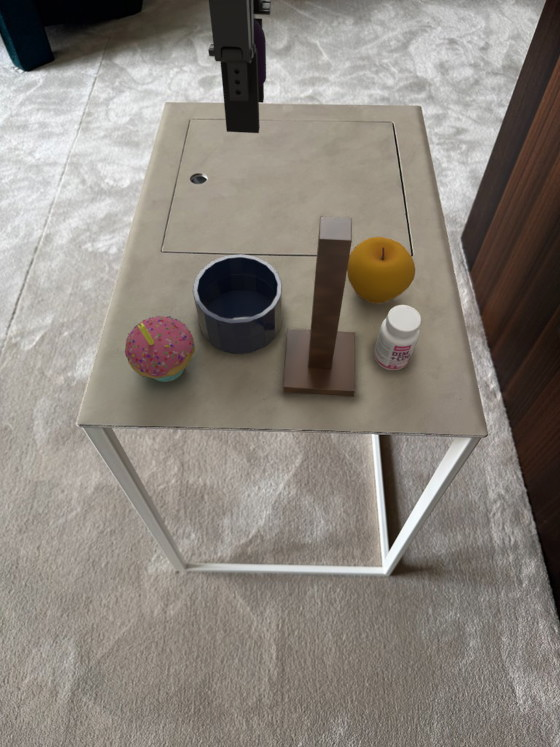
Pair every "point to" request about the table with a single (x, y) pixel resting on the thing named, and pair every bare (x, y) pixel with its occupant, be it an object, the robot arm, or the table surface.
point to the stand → (324, 323)
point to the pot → (238, 303)
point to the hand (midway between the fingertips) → (245, 113)
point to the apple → (380, 269)
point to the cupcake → (160, 348)
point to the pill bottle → (397, 337)
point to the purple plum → (260, 52)
